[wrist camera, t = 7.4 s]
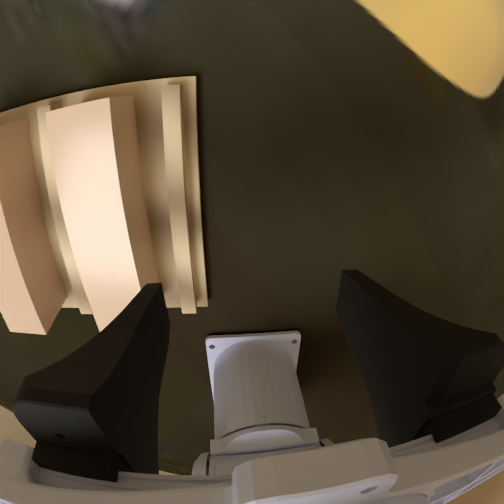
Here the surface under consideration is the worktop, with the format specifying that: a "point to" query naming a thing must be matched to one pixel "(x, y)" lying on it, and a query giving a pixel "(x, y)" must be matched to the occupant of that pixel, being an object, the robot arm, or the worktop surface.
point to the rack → (154, 182)
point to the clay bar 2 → (103, 200)
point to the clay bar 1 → (24, 240)
